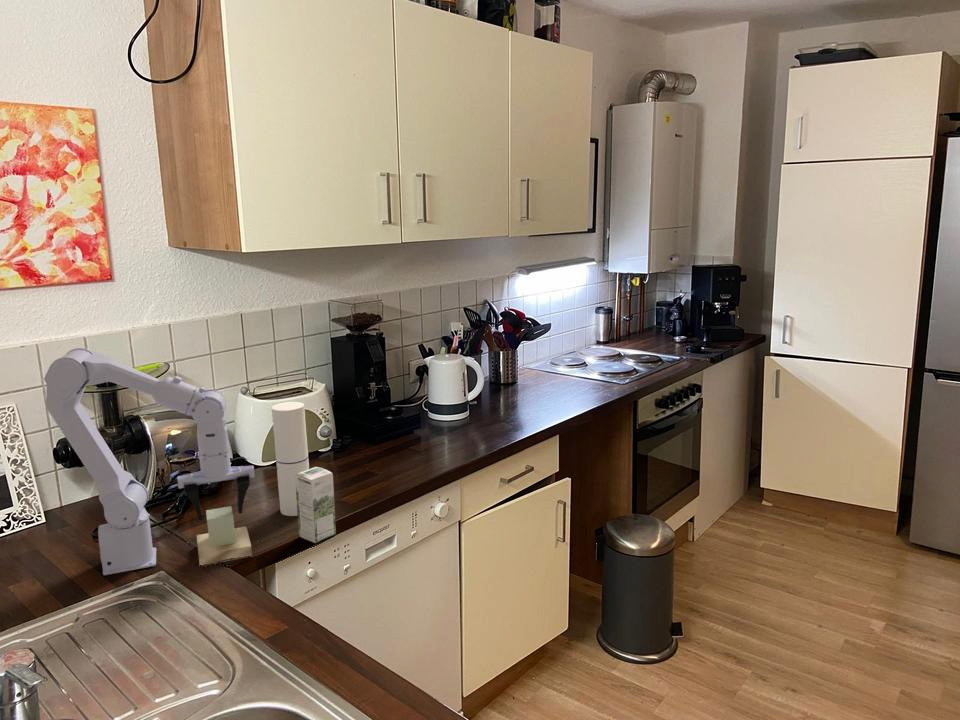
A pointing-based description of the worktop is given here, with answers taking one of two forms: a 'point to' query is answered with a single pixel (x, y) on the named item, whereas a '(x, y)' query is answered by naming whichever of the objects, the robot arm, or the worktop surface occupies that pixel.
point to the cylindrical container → (289, 451)
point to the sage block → (220, 526)
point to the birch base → (224, 547)
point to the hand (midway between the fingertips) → (220, 514)
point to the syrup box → (315, 504)
